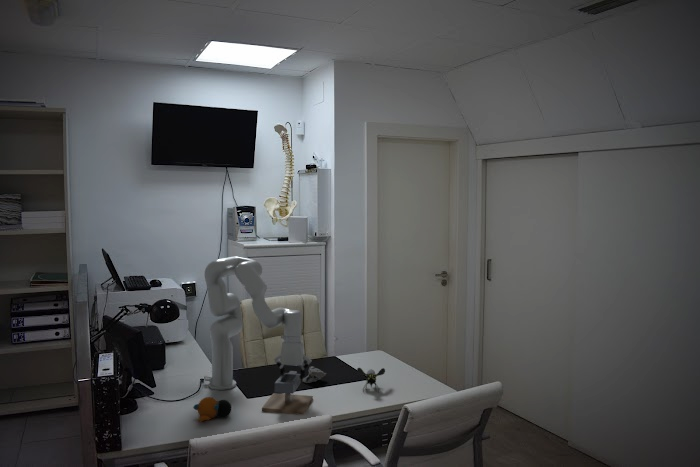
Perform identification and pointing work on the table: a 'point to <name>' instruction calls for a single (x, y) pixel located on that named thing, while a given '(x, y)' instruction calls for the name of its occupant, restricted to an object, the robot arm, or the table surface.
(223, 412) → the toy
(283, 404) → the keeper board
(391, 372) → the table surface
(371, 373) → the insect
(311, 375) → the mineral specimen
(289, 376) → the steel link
